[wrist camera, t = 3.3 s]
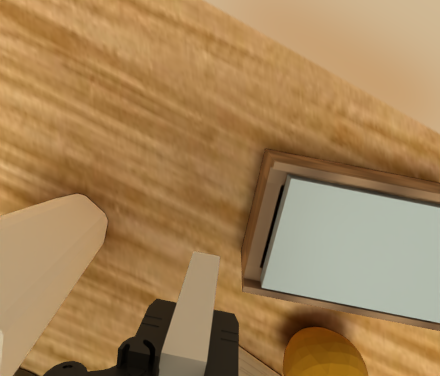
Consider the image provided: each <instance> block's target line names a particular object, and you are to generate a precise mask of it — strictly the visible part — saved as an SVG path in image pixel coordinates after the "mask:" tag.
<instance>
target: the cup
mask: <svg viewBox="0 0 440 376" xmlns="http://www.w3.org/2000/svg"><path fill="white" fill-rule="evenodd" d="M107 223H108V220H107V217H106V215H105V213H104V212H103V211H102V210H101V209H100V208H98V207H97V206H96V205H95V204H94V203H93V202H92V201H91V200H90V199H89V198H88V197H86V196H85V195H81V194H78V193H77V194H73V195H69V196H64V197H60V198H55V199H52V200H49V201H46V202H43V203H40V204H37V205H33V206H30V207H27V208H24V209H21V210H18V211H15V212H12V213H9V214H5V215H2V216H0V376H13V375H14V373H15V372H16V371H17V369H18V368H19V366H20V365H21V363H22V362H23V360H24V359H25V357H26V356H27V354H28V353H29V352H30V350H31V349H32V347H33V346H34V344H35V343H36V341H37V340H38V338H39V337H40V335H41V334H42V332H43V331H44V330H45V328H46V327H47V325H48V324H49V322H50V321H51V319H52V318H53V316H54V315H55V313H56V312H57V310H58V309H59V308H60V306H61V305H62V303H63V302H64V300H65V299H66V297H67V296H68V294H69V293H70V291H71V290H72V289H73V287H74V286H75V284H76V283H77V281H78V280H79V278H80V277H81V275H82V274H83V272H84V271H85V269H86V268H87V267H88V265H89V264H90V262H91V261H92V259H93V258H94V256H95V255H96V253H97V252H98V250H99V249H100V248H101V246H102V245H103V243H104V239H105V234H106V228H107Z"/></svg>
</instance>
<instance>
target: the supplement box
mask: <svg viewBox="0 0 440 376" xmlns="http://www.w3.org/2000/svg"><path fill="white" fill-rule="evenodd" d="M238 375H239V376H280V375H279V374H277V373H276V372H275V371H273V370H272V369H270V368H269V367H268V366H266V365H265V364H263V363H262V362H260V361H259V360H258V359H256V358H255V357H253V356H252V355H251V354H249V353H248V352H246V351H245V350H244V349H242V348H241V347H239V372H238Z"/></svg>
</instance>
